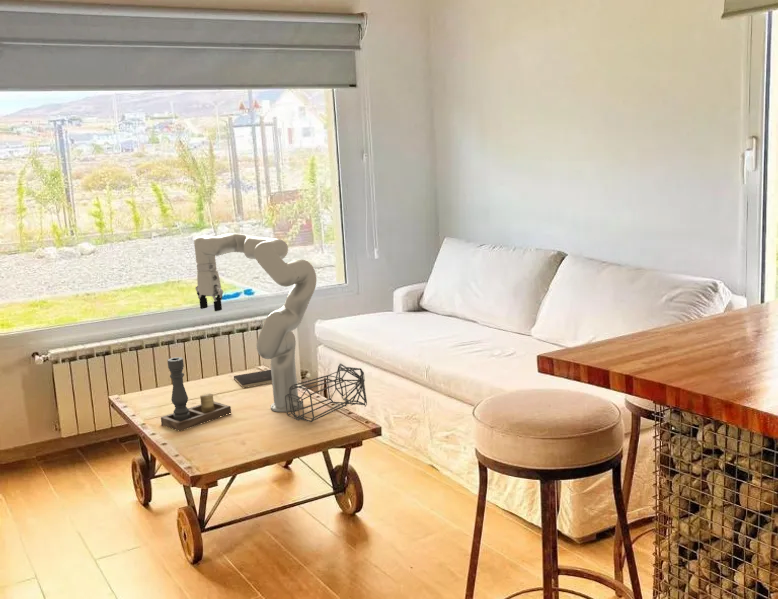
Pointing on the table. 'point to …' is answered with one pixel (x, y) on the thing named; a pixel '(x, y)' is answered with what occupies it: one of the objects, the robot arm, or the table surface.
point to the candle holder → (178, 389)
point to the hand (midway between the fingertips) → (211, 309)
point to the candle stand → (198, 414)
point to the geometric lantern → (359, 383)
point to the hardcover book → (254, 378)
